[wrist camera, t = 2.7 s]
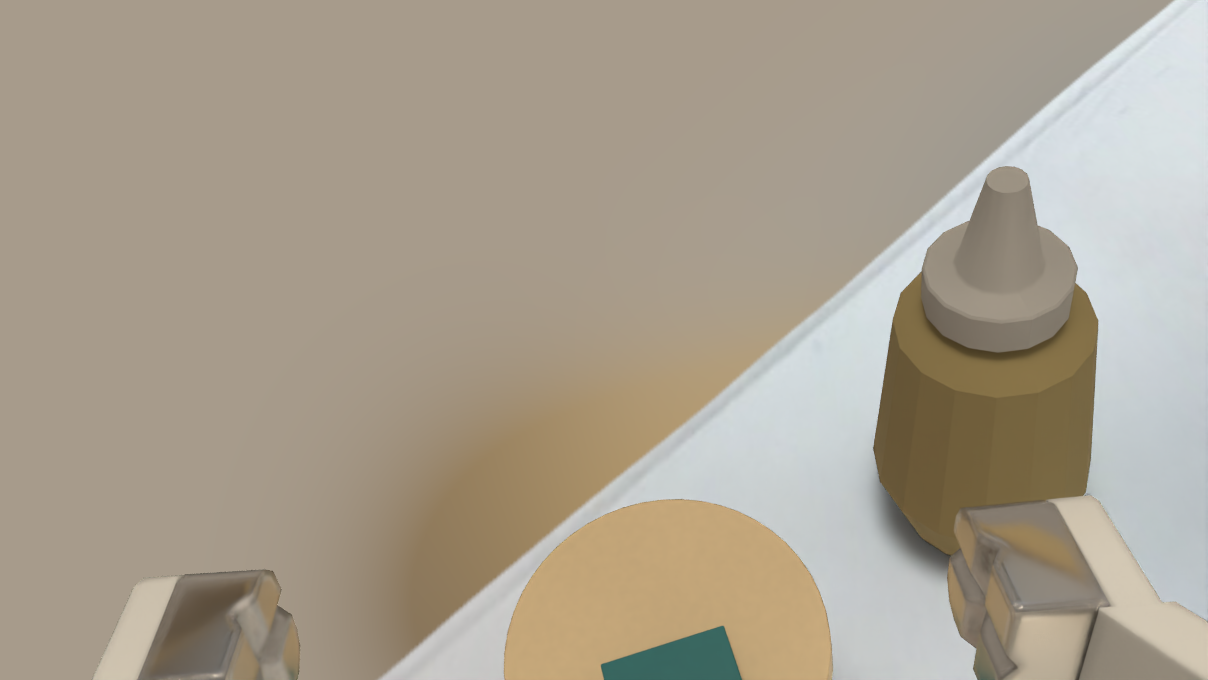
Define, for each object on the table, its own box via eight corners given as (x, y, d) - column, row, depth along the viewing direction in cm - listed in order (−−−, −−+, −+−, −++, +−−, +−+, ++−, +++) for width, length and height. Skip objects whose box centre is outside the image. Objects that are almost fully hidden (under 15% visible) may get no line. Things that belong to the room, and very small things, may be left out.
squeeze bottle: (877, 419, 47) (869, 99, 33) (1070, 426, 44) (1143, 85, 31) (871, 580, 42) (858, 282, 29) (1087, 598, 40) (1183, 281, 26)
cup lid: (493, 569, 33) (481, 552, 32) (768, 481, 33) (765, 461, 32) (546, 876, 27) (534, 864, 26) (887, 768, 27) (886, 752, 26)
